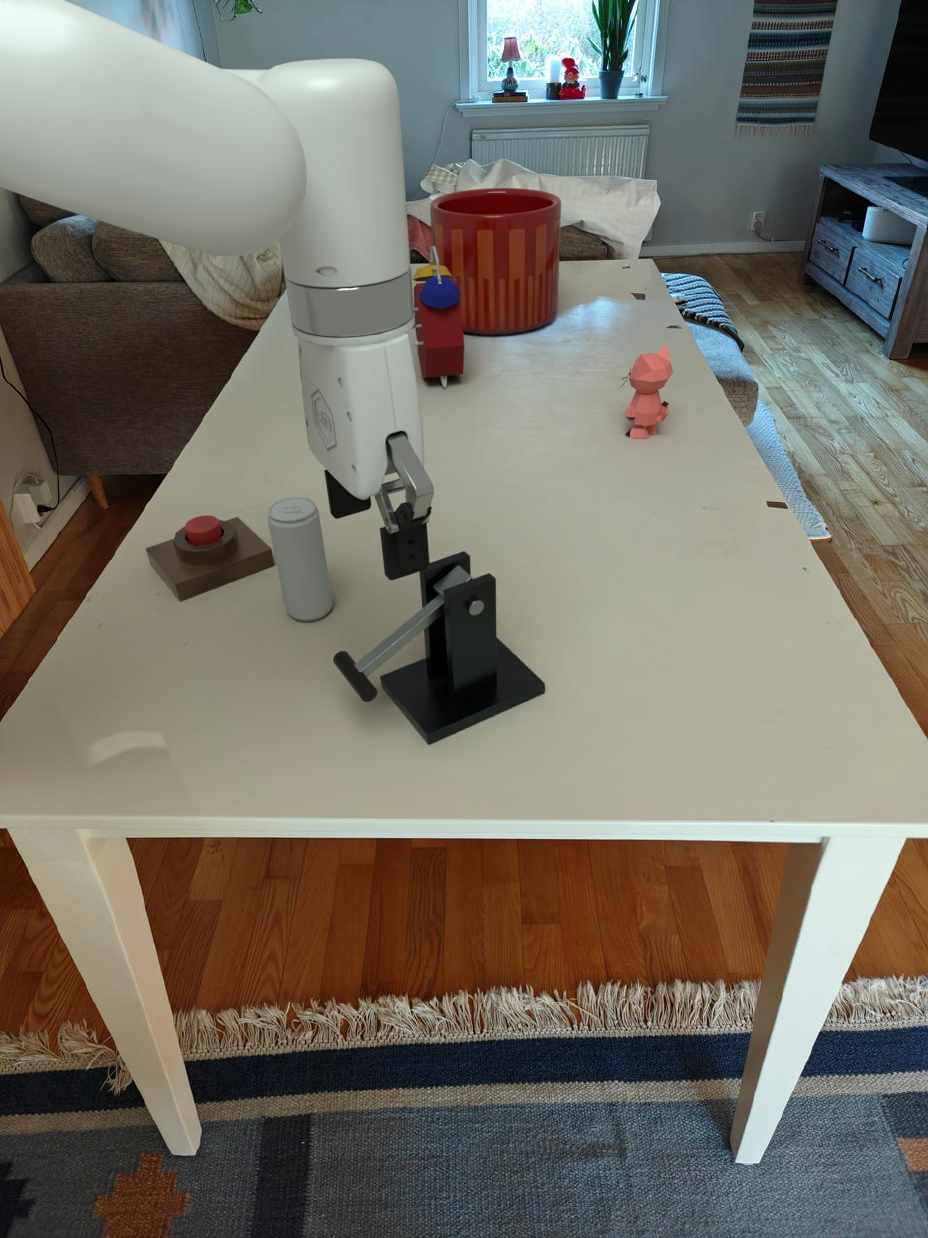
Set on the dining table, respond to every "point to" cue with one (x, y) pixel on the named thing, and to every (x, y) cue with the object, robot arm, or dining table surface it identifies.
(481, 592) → the bracket
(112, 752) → the dining table surface
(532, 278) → the planter
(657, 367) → the cat figurine
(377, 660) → the lever
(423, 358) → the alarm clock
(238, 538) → the button block
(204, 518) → the button
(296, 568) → the beverage can
